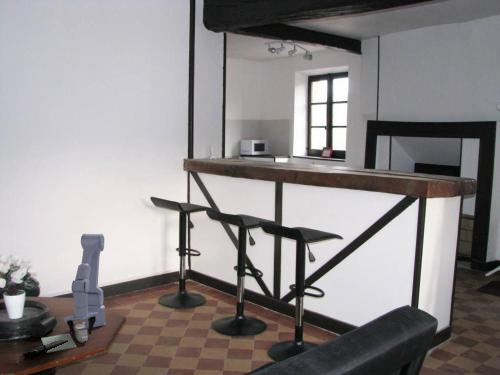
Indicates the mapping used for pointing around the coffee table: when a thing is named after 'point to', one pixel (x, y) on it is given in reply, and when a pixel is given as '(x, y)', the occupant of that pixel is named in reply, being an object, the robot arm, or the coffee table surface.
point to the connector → (81, 332)
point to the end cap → (43, 325)
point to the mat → (56, 338)
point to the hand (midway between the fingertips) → (81, 335)
